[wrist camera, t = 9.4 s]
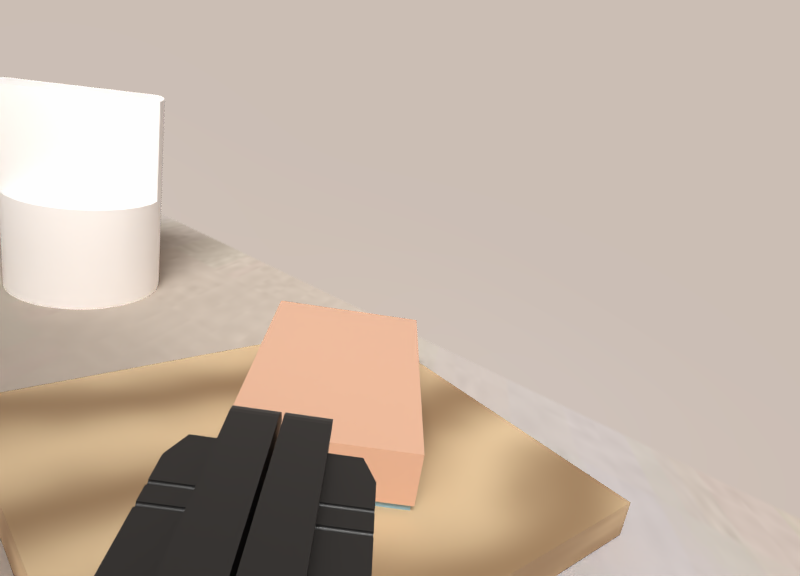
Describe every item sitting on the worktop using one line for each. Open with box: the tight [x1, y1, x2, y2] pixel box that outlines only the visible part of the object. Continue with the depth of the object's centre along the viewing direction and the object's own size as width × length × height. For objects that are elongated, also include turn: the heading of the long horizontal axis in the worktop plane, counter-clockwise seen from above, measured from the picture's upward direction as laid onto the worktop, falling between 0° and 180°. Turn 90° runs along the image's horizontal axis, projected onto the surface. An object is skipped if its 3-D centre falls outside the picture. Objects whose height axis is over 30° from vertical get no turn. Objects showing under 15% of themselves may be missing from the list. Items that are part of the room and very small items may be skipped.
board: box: [0, 344, 630, 576], centre depth 27 cm, size 18×20×2 cm
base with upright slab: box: [0, 77, 165, 310], centre depth 41 cm, size 9×9×12 cm
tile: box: [233, 301, 425, 510], centre depth 29 cm, size 3×7×12 cm
